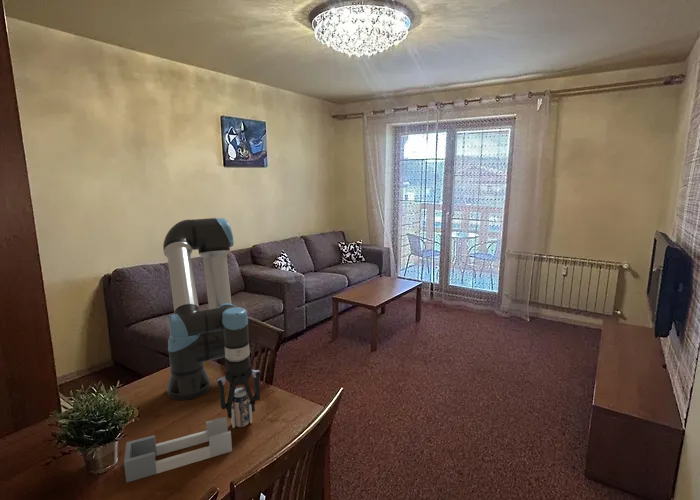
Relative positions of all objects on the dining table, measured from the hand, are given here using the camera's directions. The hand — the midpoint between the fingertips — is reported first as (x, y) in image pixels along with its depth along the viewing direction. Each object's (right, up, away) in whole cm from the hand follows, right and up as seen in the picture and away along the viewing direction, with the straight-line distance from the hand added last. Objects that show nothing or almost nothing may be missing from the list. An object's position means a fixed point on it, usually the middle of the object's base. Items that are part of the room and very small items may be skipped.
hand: (241, 422), depth 127 cm
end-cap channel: (-14, -3, -14) cm, 20 cm away
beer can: (0, -1, 0) cm, 1 cm away
